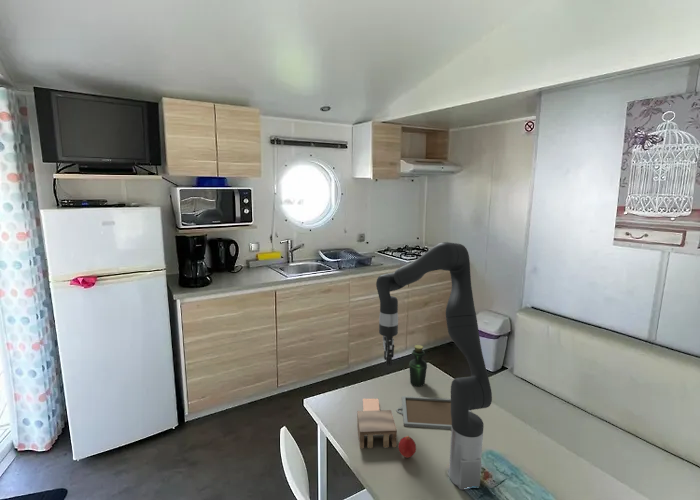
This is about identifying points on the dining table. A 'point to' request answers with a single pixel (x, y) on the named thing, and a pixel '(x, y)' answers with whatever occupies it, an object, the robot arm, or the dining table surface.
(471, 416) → the robot arm
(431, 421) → the grey framed board
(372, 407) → the tile
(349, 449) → the dining table surface
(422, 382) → the potion bottle
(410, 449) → the onion
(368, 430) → the cubby
